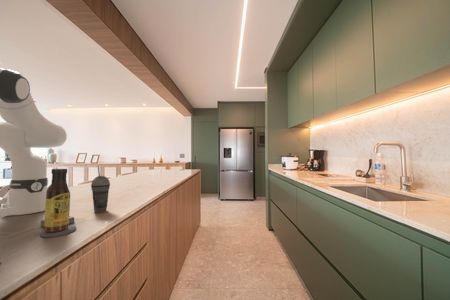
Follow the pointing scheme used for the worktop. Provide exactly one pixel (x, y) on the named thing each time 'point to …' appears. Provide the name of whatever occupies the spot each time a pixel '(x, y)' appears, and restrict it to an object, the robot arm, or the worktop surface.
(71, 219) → the button housing
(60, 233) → the mat
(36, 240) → the worktop surface
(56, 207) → the sauce bottle
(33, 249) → the worktop surface
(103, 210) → the beverage cup
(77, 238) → the worktop surface
